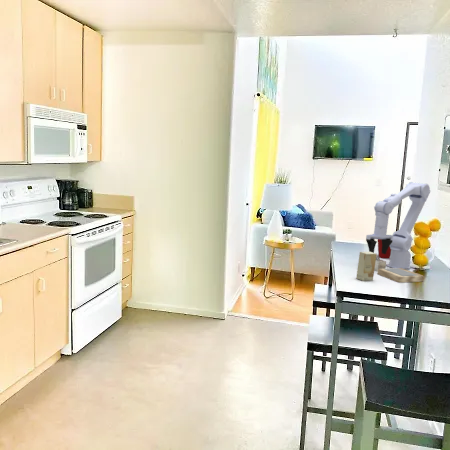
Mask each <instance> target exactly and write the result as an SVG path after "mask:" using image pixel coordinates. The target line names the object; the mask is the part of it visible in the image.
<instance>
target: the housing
mask: <svg viewBox="0 0 450 450" xmlns="http://www.w3.org/2000/svg"><path fill="white" fill-rule="evenodd" d="M386 264H387V261H385V260H383V259H381V258H380V257H379V256H376V262H375V269H374V272H375V271H376V273H377V272H378V269H387V267H386Z"/></svg>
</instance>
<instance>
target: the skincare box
mask: <svg viewBox="0 0 450 450" xmlns="http://www.w3.org/2000/svg"><path fill="white" fill-rule="evenodd" d="M376 257H377V253H375V252H374V253H373V252H369V251H359V256H358V263H357V269H356V270H357V271H356V277H355V278H356V279H357V280H360V281H363V282H367V281H368V282H370V281H374V276H375V271H374V269H375V262H376Z"/></svg>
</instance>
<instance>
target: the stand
mask: <svg viewBox="0 0 450 450" xmlns="http://www.w3.org/2000/svg"><path fill="white" fill-rule="evenodd" d="M376 274H377V275H379V276H381V277H384V278H386V279H389V280H391V281H394V282H397V283H400V284H401V283H417V282H419V283H420V282H424V278H425V276H424V275H422V274H420V273H416V272H413V271H411V270H408V269H402V268H391V267H389V268H385V269H378V272H377V271H376Z"/></svg>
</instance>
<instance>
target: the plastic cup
mask: <svg viewBox="0 0 450 450" xmlns="http://www.w3.org/2000/svg"><path fill="white" fill-rule="evenodd" d="M377 251H378V252H377V253H378V256H377V257H379V258H380V259H388V260H390V255H391V249H390V246H389V248H388V250H387V252H386V254H382V240H381V239H377Z"/></svg>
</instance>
